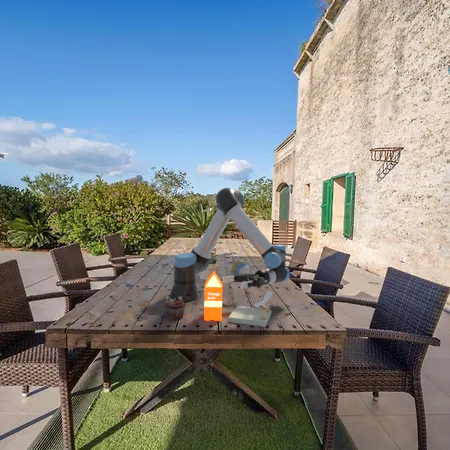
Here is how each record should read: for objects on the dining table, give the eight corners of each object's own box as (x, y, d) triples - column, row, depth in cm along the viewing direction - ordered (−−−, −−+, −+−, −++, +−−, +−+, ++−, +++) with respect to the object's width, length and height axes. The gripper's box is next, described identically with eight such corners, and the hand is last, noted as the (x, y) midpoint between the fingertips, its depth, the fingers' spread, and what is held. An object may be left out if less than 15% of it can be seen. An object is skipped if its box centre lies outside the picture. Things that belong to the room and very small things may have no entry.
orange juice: (221, 313, 135) (222, 270, 134) (221, 320, 126) (223, 274, 125) (204, 313, 134) (205, 270, 133) (203, 320, 125) (204, 274, 125)
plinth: (228, 321, 125) (228, 307, 125) (237, 309, 140) (238, 297, 140) (265, 326, 120) (266, 312, 120) (271, 314, 135) (271, 301, 135)
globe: (246, 258, 201) (248, 256, 216) (225, 264, 204) (229, 261, 218) (252, 277, 201) (253, 273, 215) (231, 282, 203) (233, 278, 218)
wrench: (252, 308, 144) (252, 306, 144) (262, 291, 175) (262, 290, 175) (269, 310, 142) (269, 308, 142) (277, 293, 172) (277, 291, 172)
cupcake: (189, 316, 129) (190, 294, 129) (172, 322, 122) (172, 299, 122) (175, 311, 136) (176, 290, 135) (158, 316, 129) (158, 294, 128)
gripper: (283, 289, 138) (249, 297, 125) (248, 279, 158) (216, 285, 145) (283, 273, 138) (250, 279, 125) (248, 265, 158) (216, 270, 145)
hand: (231, 282), depth 135 cm, fingers open, 13 cm apart
